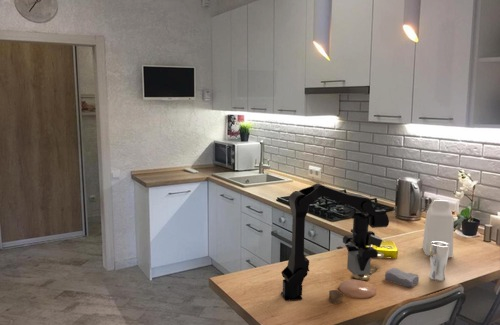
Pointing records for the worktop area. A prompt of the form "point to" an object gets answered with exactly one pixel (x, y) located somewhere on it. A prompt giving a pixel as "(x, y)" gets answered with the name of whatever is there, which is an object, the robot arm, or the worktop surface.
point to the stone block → (401, 277)
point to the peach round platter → (357, 289)
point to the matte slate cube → (356, 264)
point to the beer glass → (438, 260)
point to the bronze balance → (372, 269)
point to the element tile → (387, 249)
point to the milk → (438, 226)
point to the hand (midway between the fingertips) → (358, 267)
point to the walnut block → (335, 296)
